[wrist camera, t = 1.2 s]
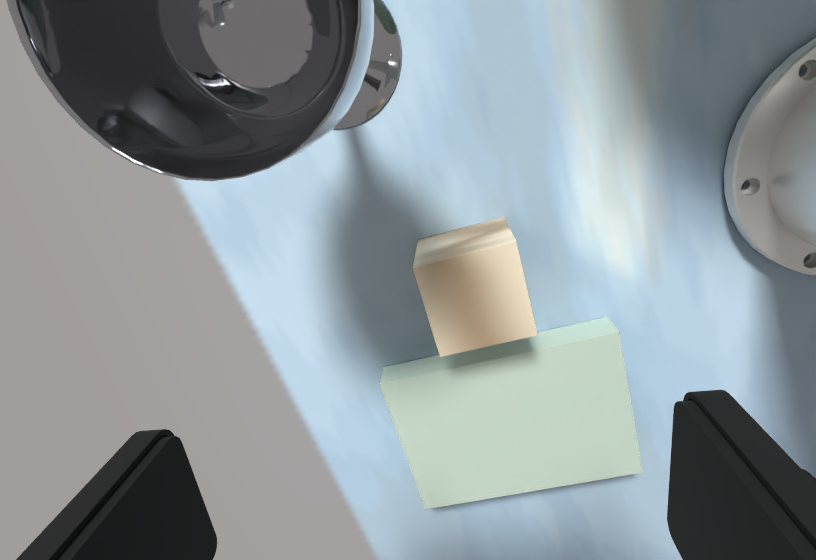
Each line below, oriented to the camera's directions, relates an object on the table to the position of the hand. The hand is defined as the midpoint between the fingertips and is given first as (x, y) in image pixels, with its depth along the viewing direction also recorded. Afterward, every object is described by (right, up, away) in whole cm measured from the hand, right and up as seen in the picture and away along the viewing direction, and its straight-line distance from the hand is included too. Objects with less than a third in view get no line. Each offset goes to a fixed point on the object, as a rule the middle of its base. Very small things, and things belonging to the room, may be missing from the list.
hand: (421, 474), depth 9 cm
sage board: (+6, -5, +22) cm, 23 cm away
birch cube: (+3, +4, +19) cm, 20 cm away
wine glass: (-4, +15, +15) cm, 22 cm away
